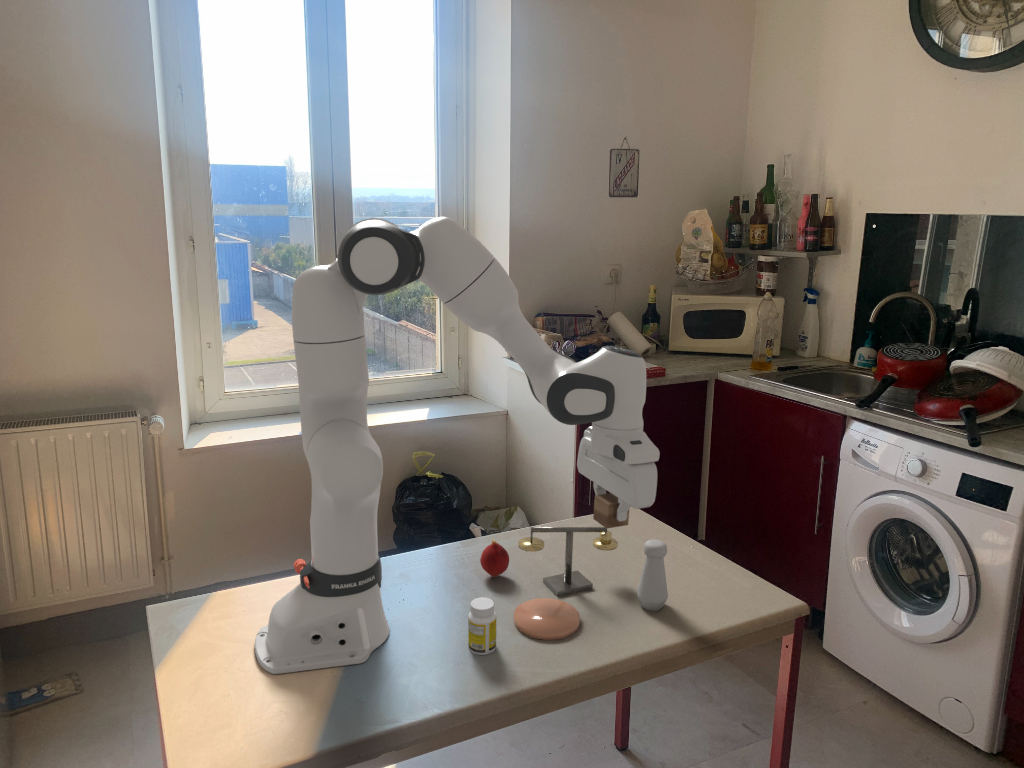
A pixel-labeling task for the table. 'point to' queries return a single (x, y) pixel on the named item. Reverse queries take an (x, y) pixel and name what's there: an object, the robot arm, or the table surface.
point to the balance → (568, 557)
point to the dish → (546, 619)
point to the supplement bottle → (482, 626)
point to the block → (607, 511)
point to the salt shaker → (653, 577)
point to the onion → (494, 559)
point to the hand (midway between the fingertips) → (610, 513)
